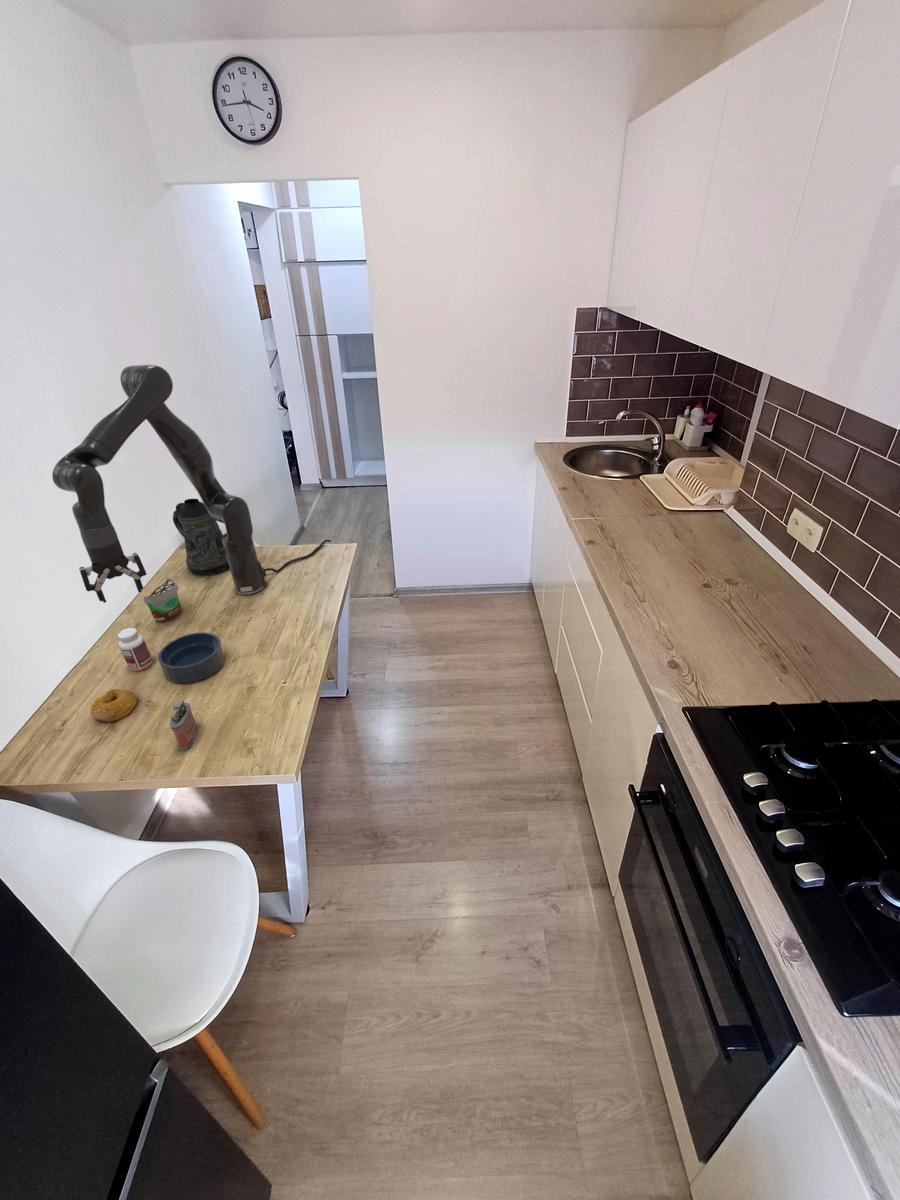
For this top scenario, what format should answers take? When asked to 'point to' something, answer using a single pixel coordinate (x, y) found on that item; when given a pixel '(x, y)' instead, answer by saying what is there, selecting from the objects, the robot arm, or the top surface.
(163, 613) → the food container
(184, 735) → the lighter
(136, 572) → the robot arm
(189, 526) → the beer stein
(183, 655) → the bowl
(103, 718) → the bagel
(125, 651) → the pill bottle
